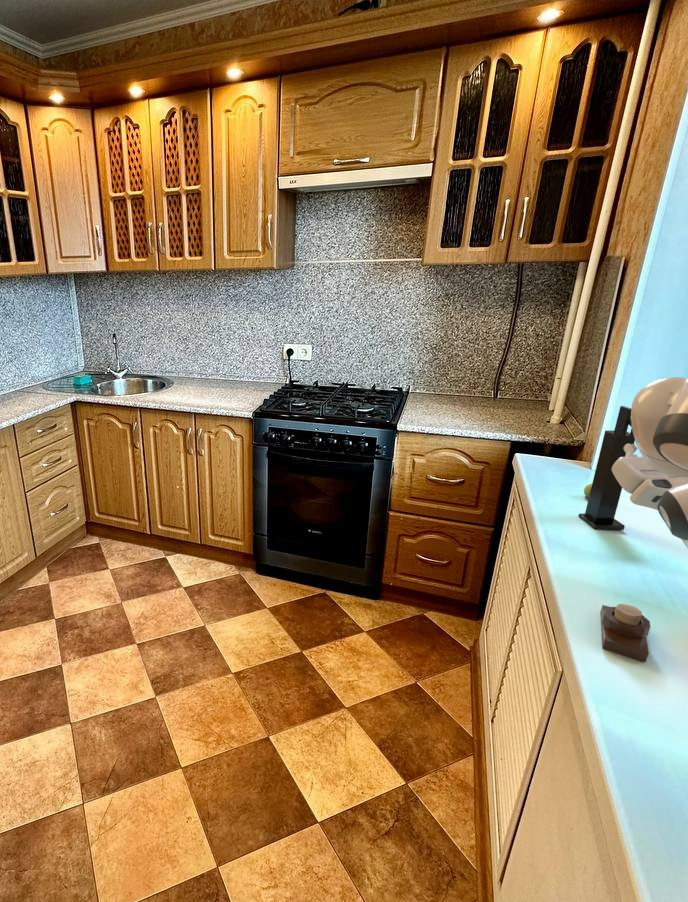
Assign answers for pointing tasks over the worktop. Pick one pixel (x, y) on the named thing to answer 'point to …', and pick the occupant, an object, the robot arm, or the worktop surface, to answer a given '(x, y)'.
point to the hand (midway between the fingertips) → (650, 445)
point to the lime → (587, 490)
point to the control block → (624, 635)
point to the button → (627, 614)
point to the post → (608, 477)
